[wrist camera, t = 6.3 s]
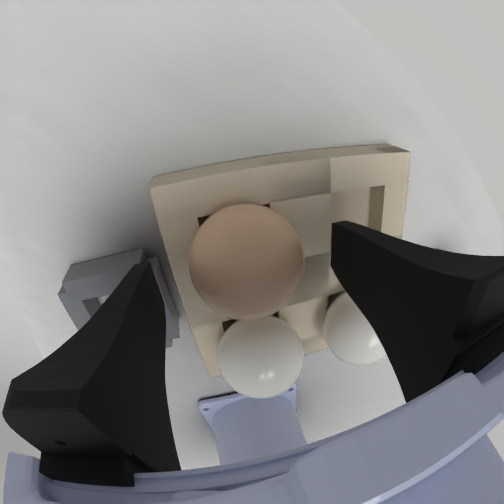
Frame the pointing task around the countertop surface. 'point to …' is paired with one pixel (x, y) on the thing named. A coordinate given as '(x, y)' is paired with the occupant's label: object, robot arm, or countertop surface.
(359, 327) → the white egg
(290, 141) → the countertop surface
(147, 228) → the countertop surface
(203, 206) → the carton
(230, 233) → the brown egg
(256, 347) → the white egg
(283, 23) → the countertop surface
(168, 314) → the egg stand
